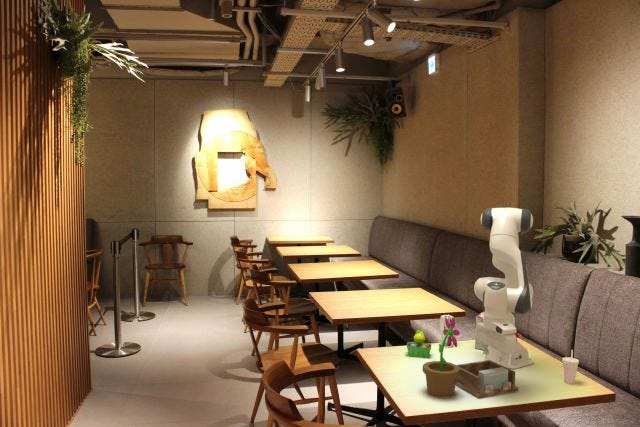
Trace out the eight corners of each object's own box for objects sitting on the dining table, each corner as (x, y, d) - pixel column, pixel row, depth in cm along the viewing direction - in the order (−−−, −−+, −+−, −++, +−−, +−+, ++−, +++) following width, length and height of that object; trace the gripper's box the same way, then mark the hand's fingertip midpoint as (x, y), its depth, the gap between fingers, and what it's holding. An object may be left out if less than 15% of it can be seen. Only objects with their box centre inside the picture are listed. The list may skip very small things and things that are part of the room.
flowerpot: (466, 397, 213) (468, 321, 211) (432, 401, 209) (434, 323, 207) (447, 384, 227) (449, 312, 225) (415, 387, 223) (417, 314, 221)
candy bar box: (480, 343, 284) (481, 311, 283) (490, 345, 281) (491, 313, 280) (474, 349, 274) (475, 316, 273) (484, 350, 272) (485, 317, 270)
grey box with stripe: (483, 391, 216) (484, 374, 215) (477, 388, 219) (478, 370, 218) (507, 387, 220) (508, 370, 220) (501, 384, 224) (502, 367, 223)
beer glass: (453, 348, 274) (454, 318, 273) (439, 347, 276) (440, 317, 275) (453, 344, 281) (454, 315, 280) (439, 343, 283) (440, 314, 282)
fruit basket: (406, 356, 261) (406, 333, 260) (407, 351, 269) (408, 328, 269) (430, 359, 258) (431, 335, 257) (431, 353, 267) (432, 330, 266)
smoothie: (570, 386, 227) (572, 352, 226) (557, 381, 232) (559, 348, 231) (581, 383, 230) (583, 350, 229) (568, 378, 235) (569, 346, 234)
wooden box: (489, 376, 236) (490, 359, 236) (518, 391, 221) (519, 372, 220) (451, 383, 228) (451, 365, 228) (478, 398, 213) (479, 379, 212)
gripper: (471, 317, 226) (470, 350, 227) (506, 331, 208) (505, 367, 209) (483, 316, 229) (482, 348, 230) (519, 329, 210) (518, 365, 211)
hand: (494, 357), depth 219 cm, fingers open, 8 cm apart
